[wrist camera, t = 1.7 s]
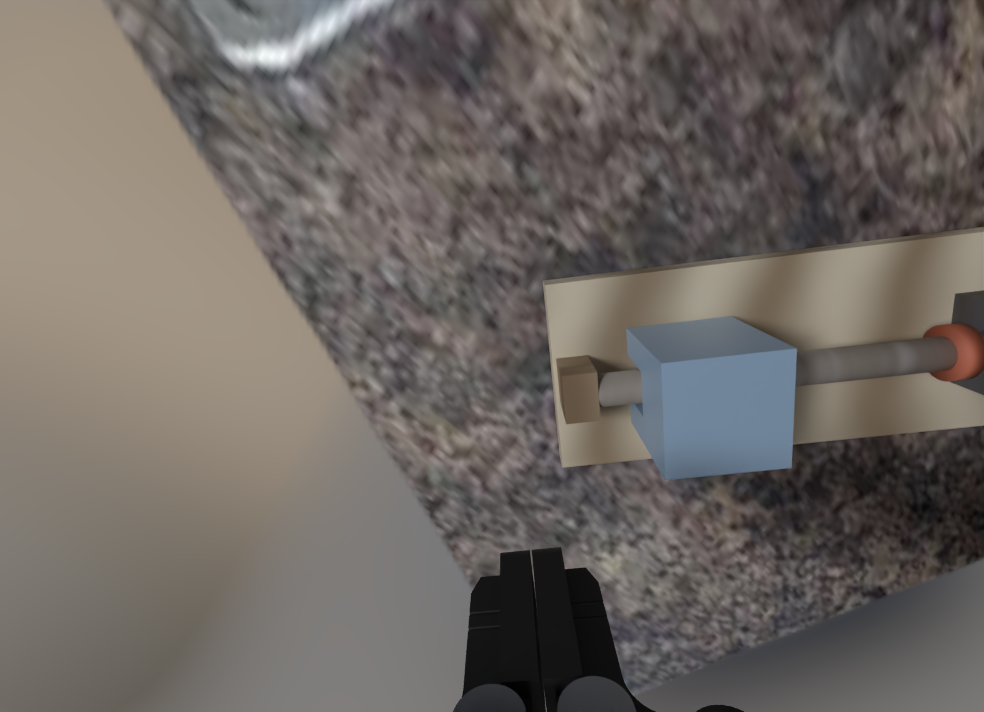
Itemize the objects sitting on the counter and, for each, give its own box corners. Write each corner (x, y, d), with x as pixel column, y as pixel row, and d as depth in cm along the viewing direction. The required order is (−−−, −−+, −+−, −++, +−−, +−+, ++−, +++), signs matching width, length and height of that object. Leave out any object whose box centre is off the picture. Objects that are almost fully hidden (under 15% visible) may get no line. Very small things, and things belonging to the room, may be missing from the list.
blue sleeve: (730, 316, 24) (797, 348, 19) (730, 411, 26) (791, 467, 20) (626, 328, 25) (660, 363, 19) (631, 421, 26) (665, 480, 21)
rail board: (1000, 224, 25) (1187, 231, 18) (972, 412, 28) (1124, 480, 21) (542, 280, 26) (555, 306, 19) (559, 454, 29) (576, 530, 22)
